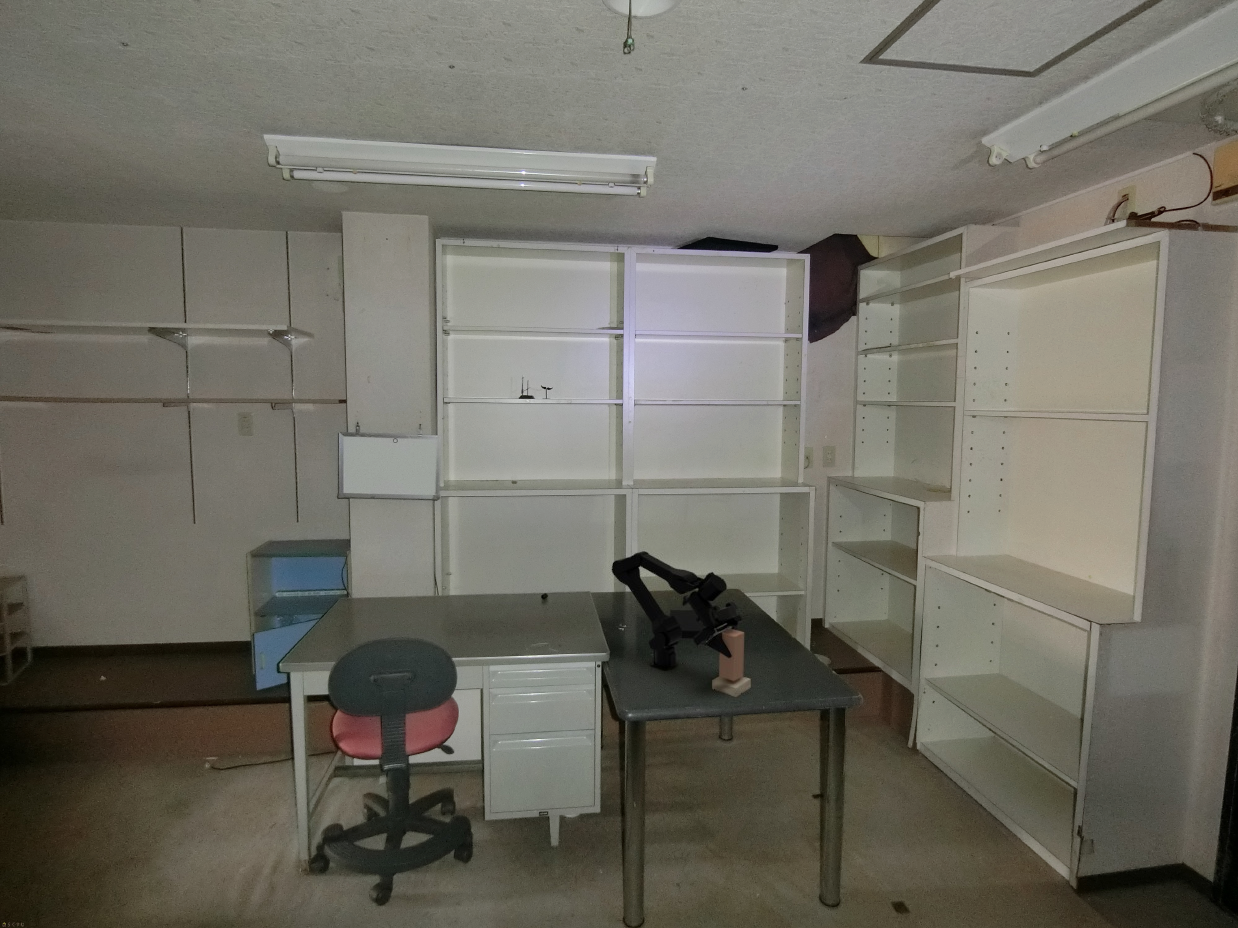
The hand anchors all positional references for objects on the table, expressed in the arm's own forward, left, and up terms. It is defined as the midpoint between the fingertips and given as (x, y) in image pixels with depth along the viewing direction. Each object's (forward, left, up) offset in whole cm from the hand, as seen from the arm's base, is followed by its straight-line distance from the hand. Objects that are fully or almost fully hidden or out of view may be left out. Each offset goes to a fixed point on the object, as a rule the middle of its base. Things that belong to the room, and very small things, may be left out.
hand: (735, 654), depth 183 cm
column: (-1, 0, -7) cm, 7 cm away
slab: (-1, 0, -11) cm, 11 cm away
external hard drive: (-41, +34, -11) cm, 54 cm away
